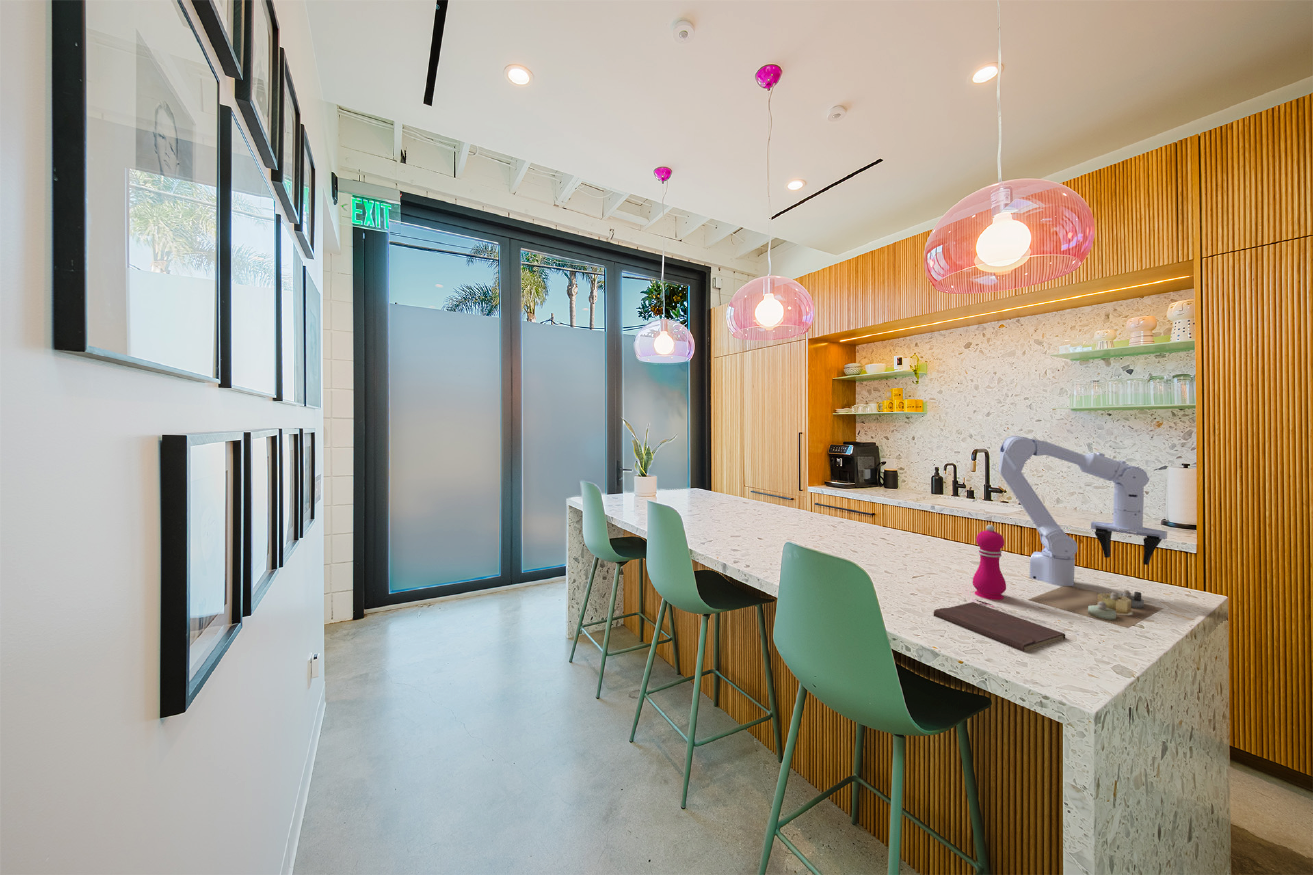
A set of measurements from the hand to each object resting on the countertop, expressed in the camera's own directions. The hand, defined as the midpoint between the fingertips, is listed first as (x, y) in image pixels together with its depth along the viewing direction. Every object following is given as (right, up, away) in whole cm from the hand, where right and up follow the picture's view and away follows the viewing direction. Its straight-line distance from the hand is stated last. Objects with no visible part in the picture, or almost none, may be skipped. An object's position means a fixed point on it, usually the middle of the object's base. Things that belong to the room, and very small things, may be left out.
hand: (1126, 560), depth 129 cm
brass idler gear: (-16, -8, -13) cm, 22 cm away
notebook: (-48, -11, -19) cm, 53 cm away
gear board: (-17, -10, -9) cm, 22 cm away
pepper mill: (-39, -10, -3) cm, 41 cm away
